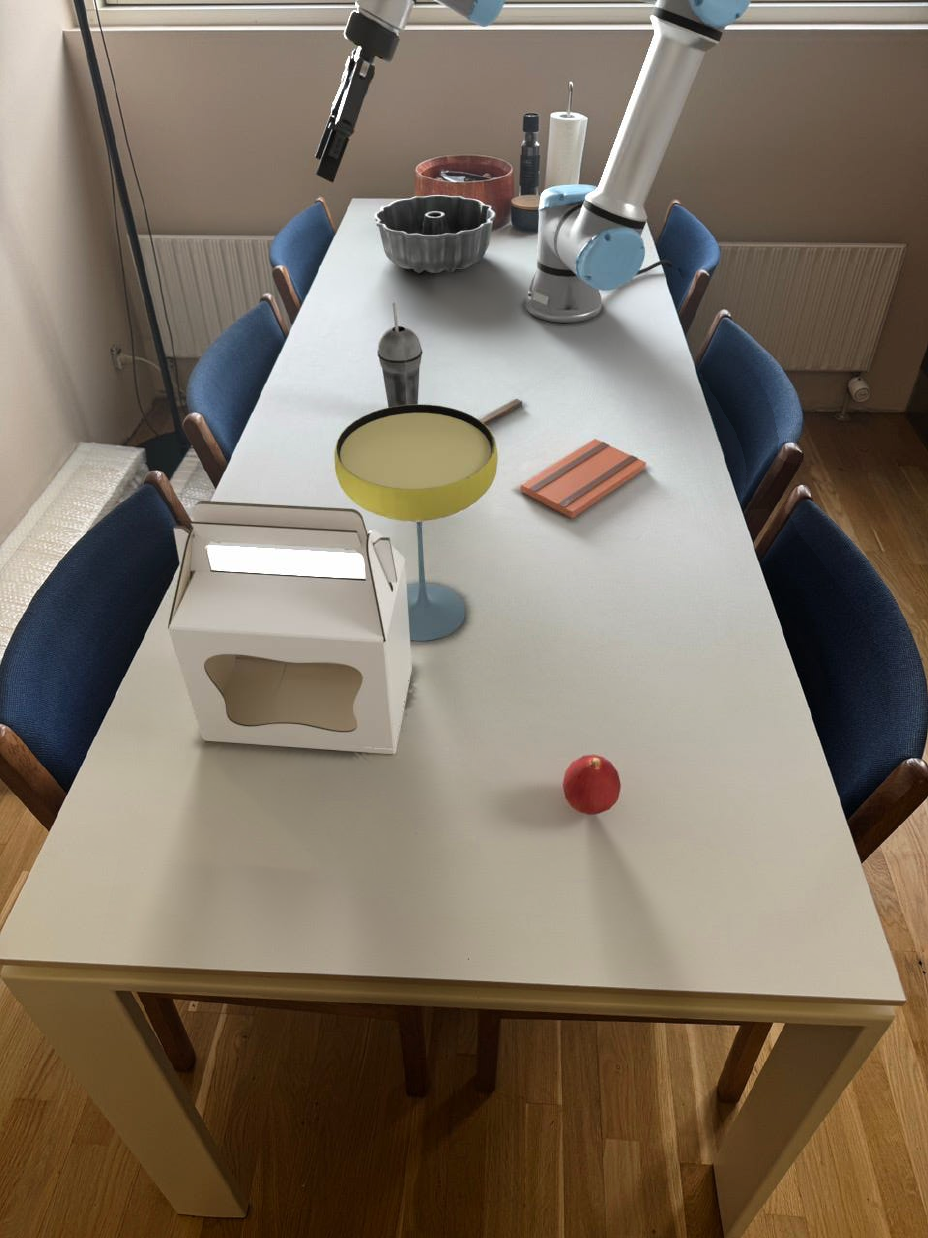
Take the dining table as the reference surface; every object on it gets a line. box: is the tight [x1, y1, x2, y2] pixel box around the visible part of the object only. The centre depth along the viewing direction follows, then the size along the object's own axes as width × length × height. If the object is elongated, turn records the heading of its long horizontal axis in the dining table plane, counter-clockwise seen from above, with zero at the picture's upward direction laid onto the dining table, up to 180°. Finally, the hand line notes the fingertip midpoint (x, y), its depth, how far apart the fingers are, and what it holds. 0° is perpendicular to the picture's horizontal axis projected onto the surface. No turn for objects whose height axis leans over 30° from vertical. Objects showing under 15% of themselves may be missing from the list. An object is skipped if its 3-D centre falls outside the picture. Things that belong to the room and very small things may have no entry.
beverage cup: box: [376, 302, 423, 408], centre depth 145 cm, size 7×7×20 cm
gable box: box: [167, 500, 413, 755], centre depth 95 cm, size 22×13×28 cm, turn 85°
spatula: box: [477, 398, 523, 426], centre depth 149 cm, size 21×6×1 cm, turn 136°
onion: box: [562, 754, 622, 816], centre depth 91 cm, size 6×6×8 cm
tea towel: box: [520, 438, 647, 519], centre depth 137 cm, size 18×10×1 cm, turn 136°
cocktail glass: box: [333, 403, 499, 642], centre depth 107 cm, size 18×18×25 cm
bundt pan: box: [374, 194, 496, 274], centre depth 199 cm, size 26×26×10 cm
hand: (323, 169), depth 139 cm, fingers open, 13 cm apart
